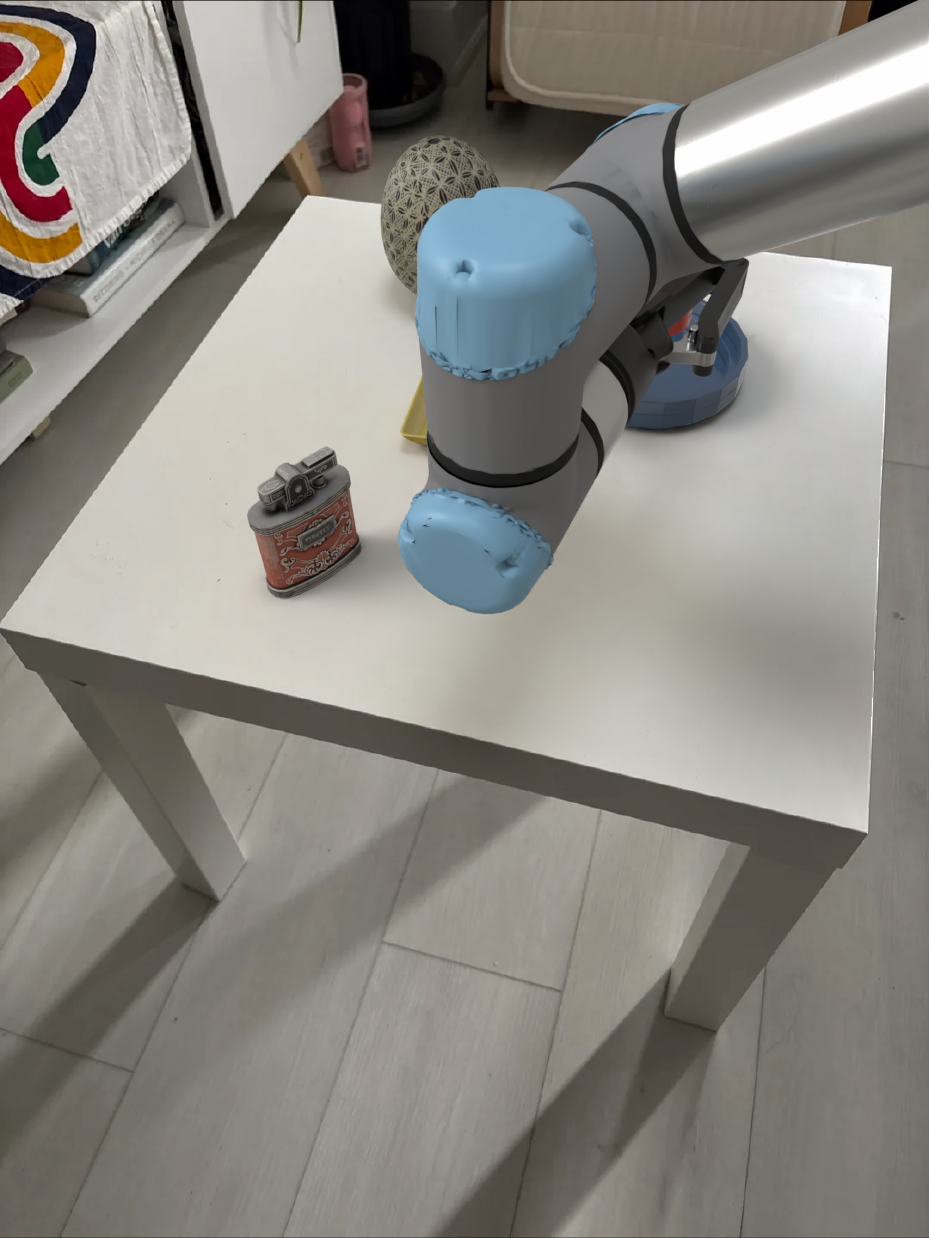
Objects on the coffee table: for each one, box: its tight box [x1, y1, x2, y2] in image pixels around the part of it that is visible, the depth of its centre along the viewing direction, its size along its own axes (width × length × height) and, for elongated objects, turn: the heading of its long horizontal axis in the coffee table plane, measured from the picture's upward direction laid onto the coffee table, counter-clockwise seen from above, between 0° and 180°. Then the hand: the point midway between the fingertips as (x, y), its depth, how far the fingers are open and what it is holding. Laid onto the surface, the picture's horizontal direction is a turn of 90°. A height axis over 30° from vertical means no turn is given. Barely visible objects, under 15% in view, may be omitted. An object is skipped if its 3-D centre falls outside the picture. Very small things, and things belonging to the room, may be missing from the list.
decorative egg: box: [380, 134, 501, 296], centre depth 89 cm, size 12×12×15 cm
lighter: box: [246, 446, 363, 600], centre depth 69 cm, size 8×3×10 cm, turn 131°
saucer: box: [399, 375, 427, 446], centre depth 82 cm, size 9×9×2 cm
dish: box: [625, 299, 749, 430], centre depth 85 cm, size 16×16×4 cm
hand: (692, 205), depth 70 cm, fingers closed on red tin, 5 cm apart
